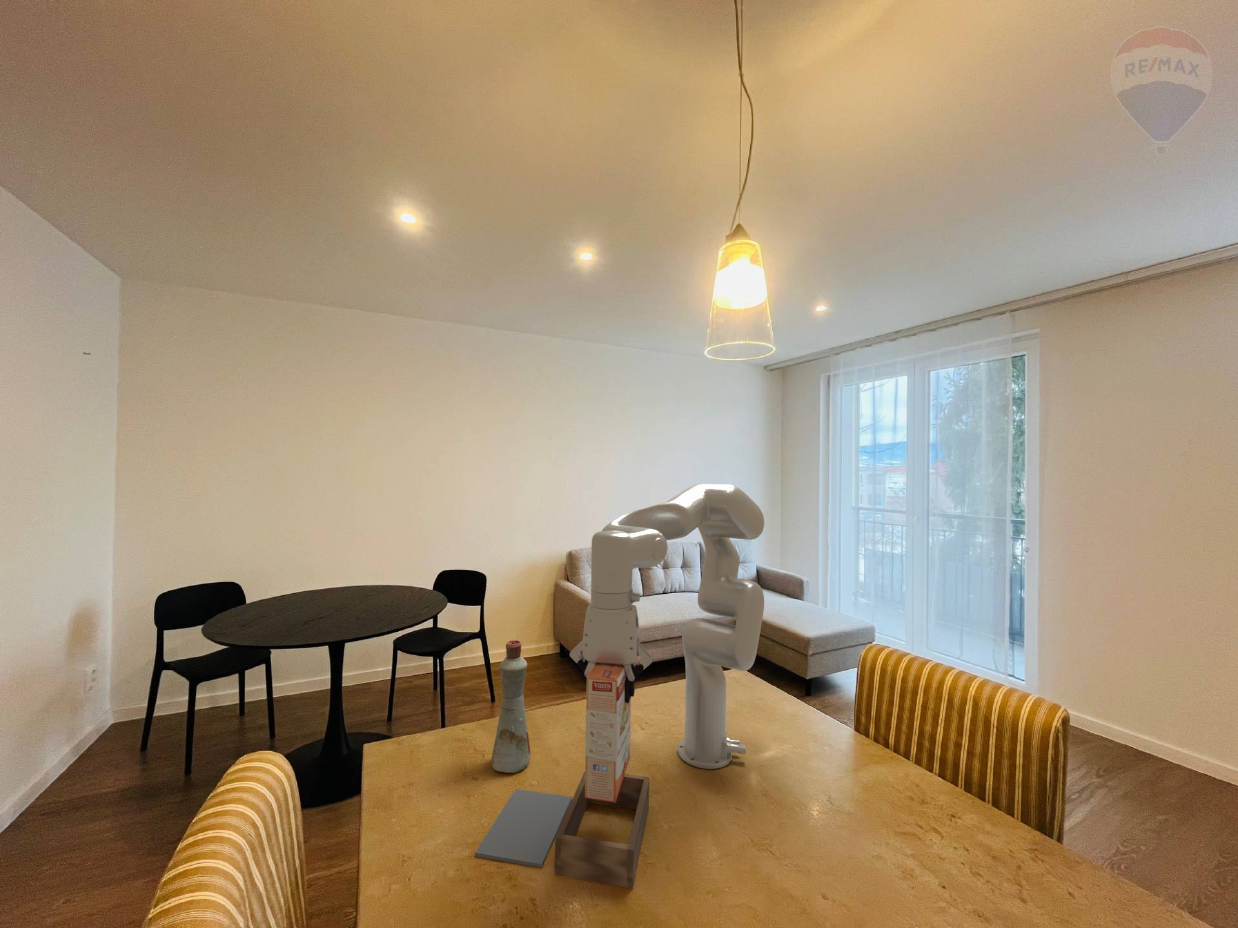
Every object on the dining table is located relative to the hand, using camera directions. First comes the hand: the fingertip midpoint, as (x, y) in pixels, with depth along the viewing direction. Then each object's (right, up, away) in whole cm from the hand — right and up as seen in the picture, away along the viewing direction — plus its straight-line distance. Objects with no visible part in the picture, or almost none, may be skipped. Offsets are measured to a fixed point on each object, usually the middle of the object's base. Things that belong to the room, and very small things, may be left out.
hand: (610, 696), depth 92 cm
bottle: (-23, -25, +22) cm, 40 cm away
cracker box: (0, -15, 0) cm, 15 cm away
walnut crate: (-1, -25, -1) cm, 25 cm away
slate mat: (-15, -25, +2) cm, 29 cm away
